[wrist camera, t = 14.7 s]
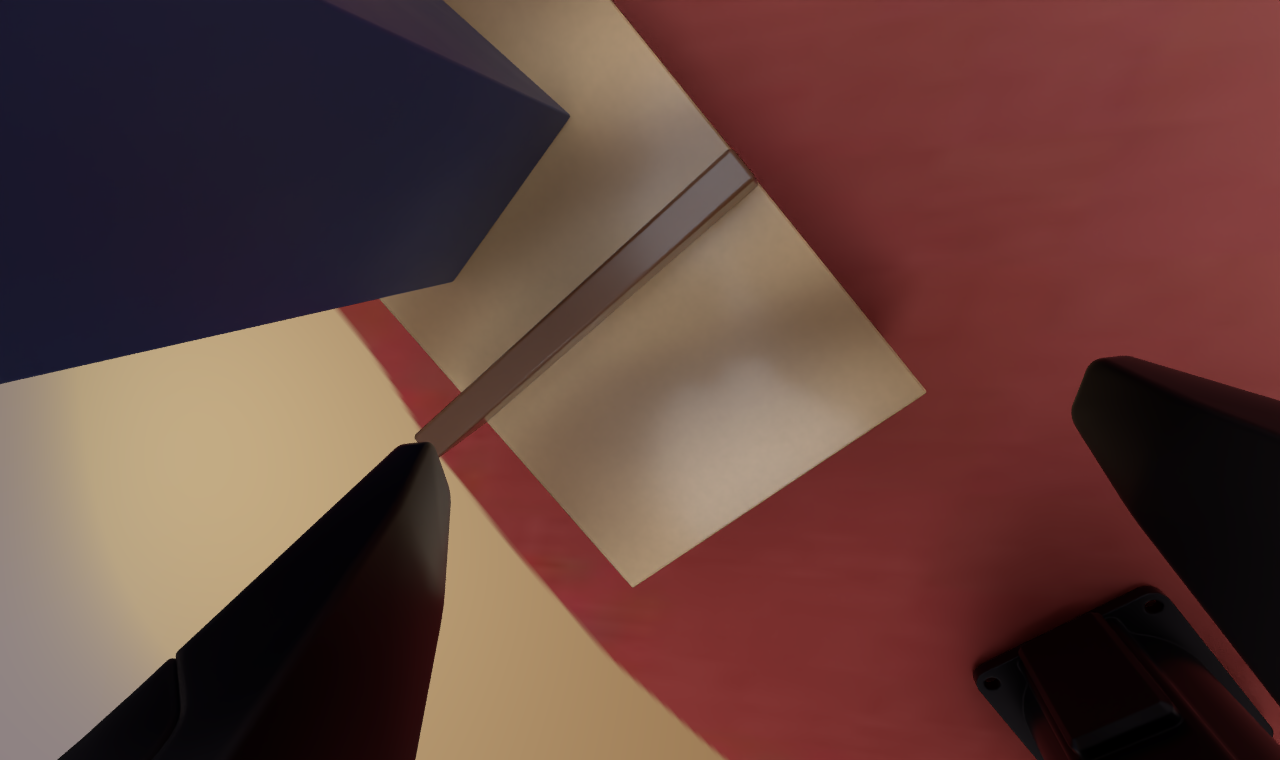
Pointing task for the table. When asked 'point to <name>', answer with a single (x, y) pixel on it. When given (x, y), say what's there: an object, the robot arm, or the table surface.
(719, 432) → the wooden stand
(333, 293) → the navy carton
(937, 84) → the table surface
